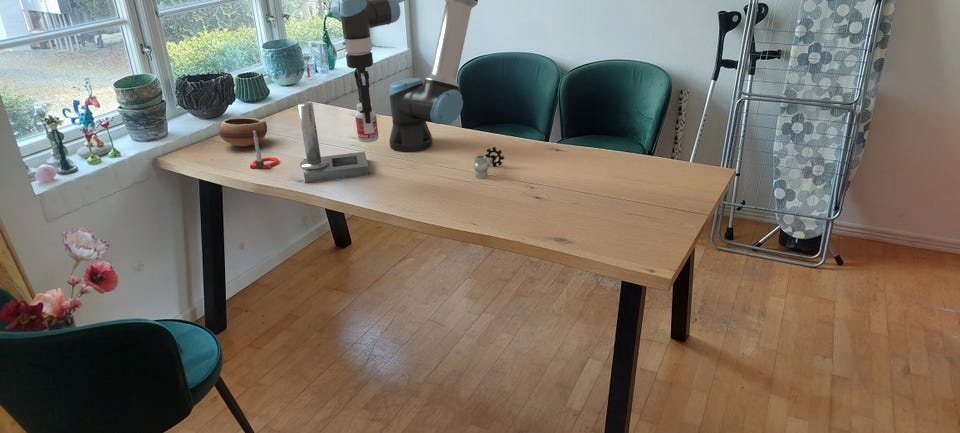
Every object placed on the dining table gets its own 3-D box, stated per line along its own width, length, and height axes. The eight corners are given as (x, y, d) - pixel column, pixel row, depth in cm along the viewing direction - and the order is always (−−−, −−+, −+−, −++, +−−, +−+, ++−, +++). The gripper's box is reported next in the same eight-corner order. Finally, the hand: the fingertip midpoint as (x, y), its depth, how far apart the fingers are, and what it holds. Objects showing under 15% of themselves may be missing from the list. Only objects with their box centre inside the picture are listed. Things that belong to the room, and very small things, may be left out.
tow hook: (260, 160, 235) (247, 169, 227) (254, 123, 230) (241, 131, 222) (283, 160, 234) (271, 169, 226) (277, 124, 229) (265, 131, 221)
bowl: (276, 141, 251) (272, 115, 247) (242, 155, 239) (237, 128, 235) (248, 135, 259) (243, 110, 255) (213, 148, 247) (208, 122, 243)
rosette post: (365, 160, 230) (357, 93, 220) (369, 174, 217) (360, 104, 207) (301, 167, 226) (290, 99, 216) (301, 183, 213) (290, 111, 203)
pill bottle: (373, 143, 203) (368, 108, 198) (354, 142, 205) (350, 106, 200) (382, 136, 208) (378, 101, 203) (364, 135, 210) (359, 100, 205)
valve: (488, 180, 209) (504, 167, 218) (487, 160, 206) (504, 148, 216) (469, 177, 212) (486, 164, 221) (468, 157, 209) (485, 145, 218)
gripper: (343, 47, 203) (353, 121, 213) (347, 60, 186) (358, 141, 196) (368, 44, 204) (377, 119, 214) (375, 57, 188) (384, 137, 197)
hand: (368, 129), depth 205 cm, fingers closed on pill bottle, 6 cm apart
